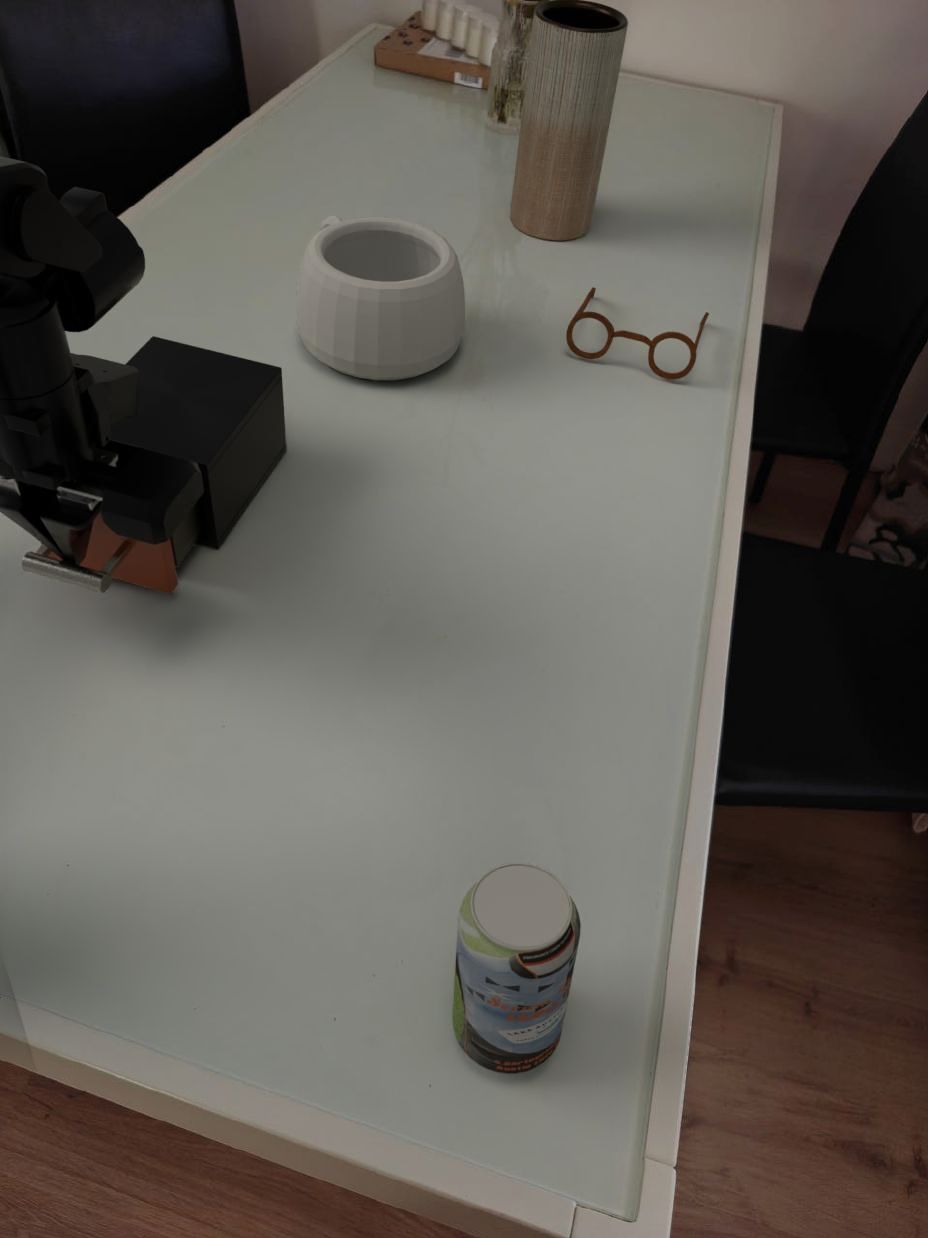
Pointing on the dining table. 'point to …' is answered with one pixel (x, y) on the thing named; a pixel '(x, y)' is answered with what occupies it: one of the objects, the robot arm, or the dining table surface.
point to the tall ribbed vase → (566, 116)
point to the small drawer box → (208, 423)
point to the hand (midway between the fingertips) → (76, 561)
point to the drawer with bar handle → (123, 553)
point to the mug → (380, 298)
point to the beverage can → (514, 967)
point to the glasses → (633, 336)
